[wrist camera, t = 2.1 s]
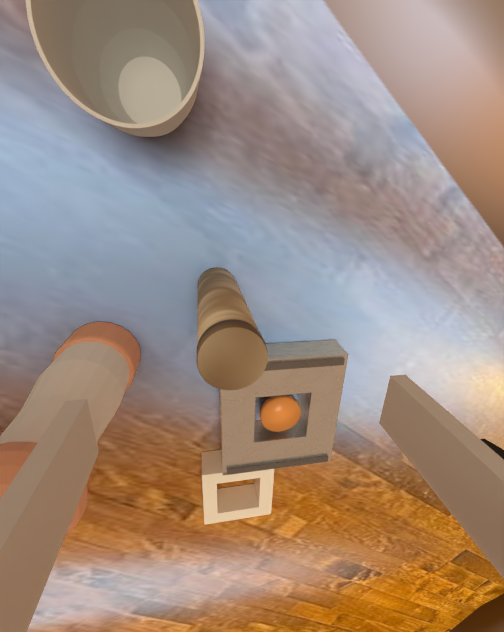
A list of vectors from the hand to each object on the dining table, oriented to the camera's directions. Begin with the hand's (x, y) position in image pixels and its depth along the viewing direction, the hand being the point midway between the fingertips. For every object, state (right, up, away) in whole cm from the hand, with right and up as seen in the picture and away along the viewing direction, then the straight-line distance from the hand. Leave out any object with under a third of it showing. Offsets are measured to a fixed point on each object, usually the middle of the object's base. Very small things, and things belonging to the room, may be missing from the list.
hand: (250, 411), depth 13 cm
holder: (-2, -18, +28) cm, 33 cm away
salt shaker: (-16, 0, +18) cm, 24 cm away
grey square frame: (+3, -6, +24) cm, 25 cm away
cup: (-8, +22, +11) cm, 26 cm away
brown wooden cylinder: (-4, +7, +17) cm, 19 cm away
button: (+3, -7, +22) cm, 24 cm away
